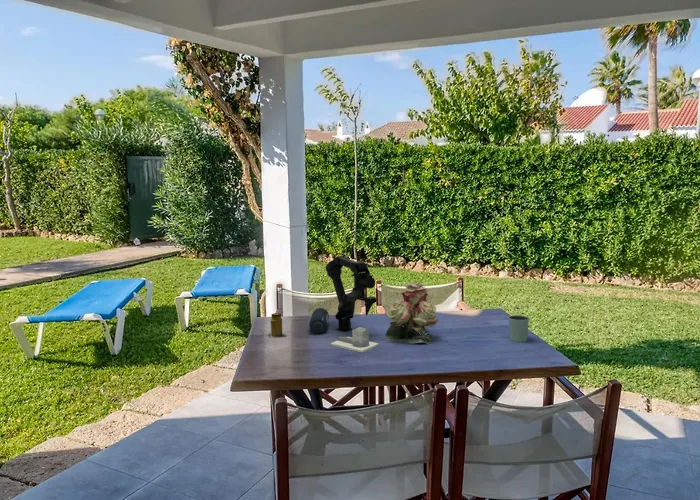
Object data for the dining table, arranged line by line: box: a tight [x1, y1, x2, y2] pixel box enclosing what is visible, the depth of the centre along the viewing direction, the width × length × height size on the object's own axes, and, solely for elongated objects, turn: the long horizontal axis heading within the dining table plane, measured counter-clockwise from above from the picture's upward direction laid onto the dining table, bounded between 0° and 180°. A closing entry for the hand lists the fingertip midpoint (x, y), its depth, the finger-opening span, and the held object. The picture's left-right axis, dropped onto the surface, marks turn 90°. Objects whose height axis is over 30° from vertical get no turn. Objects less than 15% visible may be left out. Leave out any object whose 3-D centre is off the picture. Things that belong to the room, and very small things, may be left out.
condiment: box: [269, 312, 288, 338], centre depth 292 cm, size 7×8×12 cm
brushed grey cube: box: [351, 326, 370, 343], centre depth 271 cm, size 6×6×6 cm
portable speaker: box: [309, 307, 330, 334], centre depth 304 cm, size 25×10×10 cm, turn 179°
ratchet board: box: [330, 336, 379, 354], centre depth 273 cm, size 20×14×6 cm
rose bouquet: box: [384, 281, 439, 345], centre depth 284 cm, size 26×29×30 cm
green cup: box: [508, 314, 530, 343], centre depth 279 cm, size 10×10×12 cm
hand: (359, 313), depth 289 cm, fingers open, 9 cm apart
